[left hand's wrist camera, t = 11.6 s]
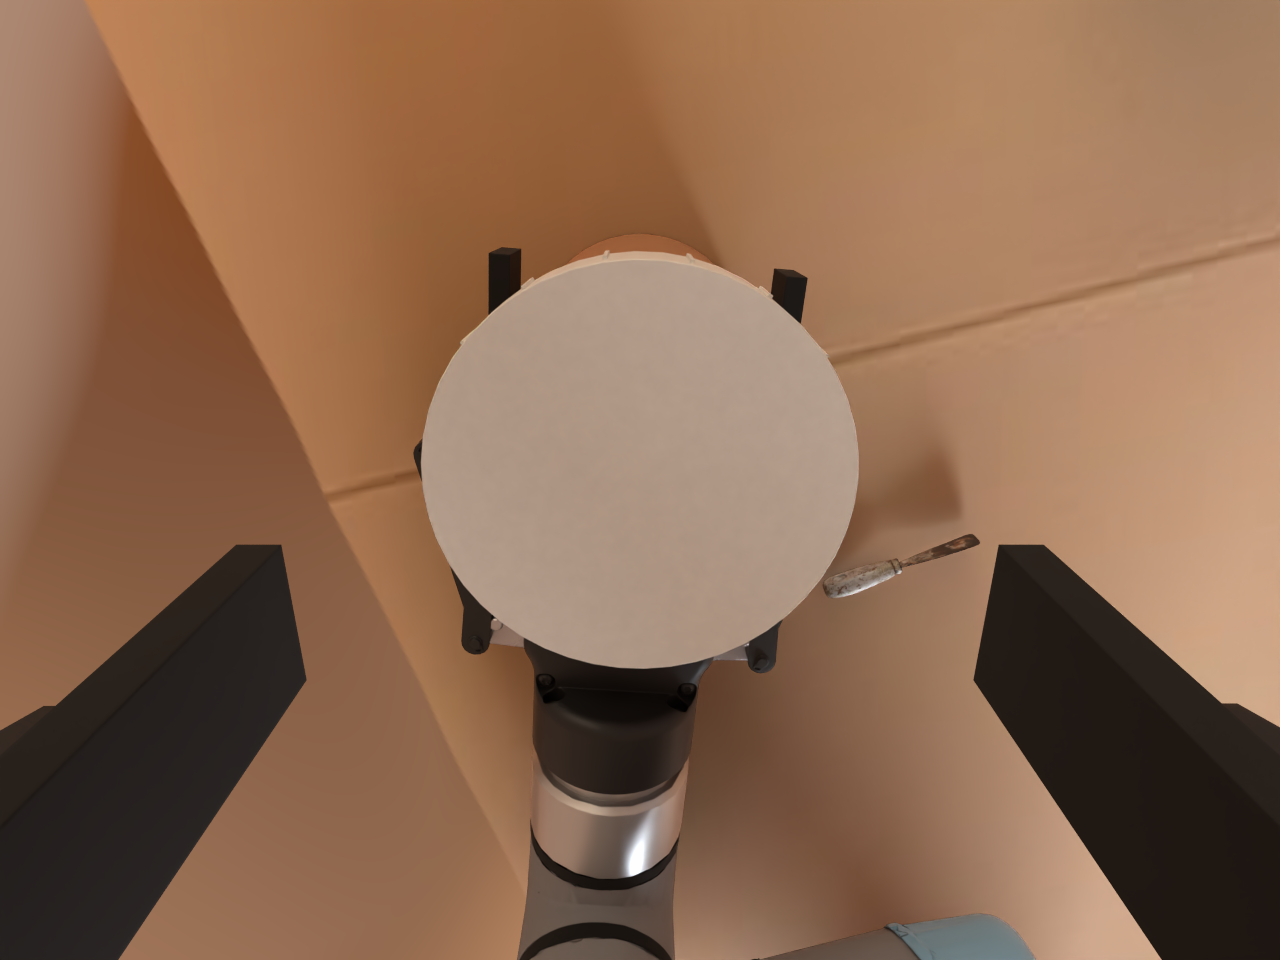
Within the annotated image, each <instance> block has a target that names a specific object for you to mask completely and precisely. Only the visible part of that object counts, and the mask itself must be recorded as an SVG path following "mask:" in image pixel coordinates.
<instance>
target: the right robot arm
mask: <svg viewBox="0 0 1280 960" xmlns="http://www.w3.org/2000/svg"><path fill="white" fill-rule="evenodd" d="M806 285H807V277H805V276H803V275H801V274H799V273H798V272H796V271H794V270H785V269H774V275H773V282H772V290H771V294H772V295H773V297H772V299H773V300H774V301H775V302H776V303H777V304H779V305H780V306H781V307H782V308H783V309H784V310H785V311H786V312H788V313H789V314H790V315H791V316H792V317H793V318H794V319H795V320H796V321H798V322H799V323H800V324H801V318H802V312H803V305H804V298H805V292H806ZM520 286H521V249H516V248H503V247H501V248H499V249H497V250H495V251H493V252H490V253H489V315H490V314H491V313H492V312H493V311H494V310H495V309H496V308H497V307H499V306H500V305H501V304H502V303H503V302H504V301H506V300H507V299H508V298H510V297H511V296H512V295H514V294H515V293H516V292H518V291H519V290H520ZM422 441H423V438H422V440H421V441H420V442H419V443H418V445H417V446H416V447H415V449H414V459H415V462H416V465H417V468H418V471H419V474H420V477H421V480H422V472H421V454H422ZM450 567H451V566H450ZM451 570H452V573H453V576H454V579H455V582H456V585H457V588H458V591H459V594H460V598H461V601H462V604H463V607H464V613H463V627H462V646H463V648H464V649H465V650H466V651H467V652H469V653H471V654H481V653H484V652H485V651H486V650H487V649H488V647H489V644H490V643H491V644H499V645H507V646H516V647H524V649H525V652H526V654H527V655H528V657H529V658H530V660H531V662H532V664H533V667H534V706H533V744H534V749H533V753H532V767H531V820H530V825H531V844H530V859H529V874H528V889H527V899H526V907H525V914H524V920H523V926H522V933H521V939H520V945H519V951H518V957H517V960H675V951H674V928H673V893H674V880H675V868H676V857H677V846H678V842H679V835H680V829H681V825H682V818H683V810H684V802H685V794H686V785H687V777H688V766H689V759H688V756H689V754H690V750H691V743H692V735H693V727H694V719H695V711H696V703H697V695H698V687H699V682H700V679H701V677H702V675H703V673H704V672H705V670H706V669H707V668H708V667H709V666H710V664H711V663H712V661H713V660H748V665H749V667H750V668H751V670H753V671H754V672H757V673H765V672H768V671H770V670H771V669H772V668H773V667H774V665H775V662H776V650H777V638H778V628H779V626H780V624H781V622H782V620H783V619H782V620H781V621H779V622H778V623H777V624H775V625H774V626H773V627H771V628H770V629H769V630H767V631H766V632H764V633H762V634H761V635H759V636H757V637H755V638H754V639H752V640H750V641H749V642H747V643H745V644H743V645H741V646H738V647H736V648H734V649H732V650H729V651H727V652H725V653H722V654H720V655H717V656H713V657H710V658H707V659H704V660H700V661H697V662H693V663H687V664H682V665H677V666H672V667H660V668H647V669H640V668H617V667H610V666H604V665H597V664H591V663H588V662H584V661H580V660H576V659H572V658H569V657H566V656H563V655H561V654H558V653H556V652H553V651H550V650H548V649H545V648H543V647H541V646H539V645H537V644H536V643H534V642H532V641H530V640H528V639H526V638H524V637H522V636H521V635H519V634H518V633H516V632H515V631H513V630H512V629H510V628H509V627H507V626H506V625H505V624H503V623H502V622H500V621H499V620H498V619H497V618H496V617H494V616H493V615H492V614H491V613H490V612H489V611H488V610H486V609H485V608H484V607H483V606H482V605H481V604H480V603H479V602H478V601H477V600H476V599H475V597H474V596H473V595H472V594H471V593H470V592H469V591H468V590H467V588H466V587H465V586H464V585H463V584H462V582H461V581H460V579H459V578H458V576H457V575H456V573H455V572H454V571H453V569H452V568H451ZM752 960H1036V959H1035V957H1034V956H1033V954H1032V952H1031V951H1030V949H1029V947H1028V946H1027V944H1026V943H1025V942H1024V940H1023V939H1022V938H1021V936H1020V935H1019V934H1018V933H1017V932H1016V931H1015V930H1014V929H1013V928H1012V927H1011V926H1010V925H1009V924H1007V923H1006V922H1004V921H1003V920H1001V919H999V918H997V917H995V916H992V915H988V914H971V915H964V916H958V917H951V918H945V919H938V920H932V921H925V922H919V923H913V924H906V925H901V924H898V923H891V924H888V925H886V926H885V927H884V928H883V929H879V930H875V931H871V932H867V933H863V934H859V935H856V936H852V937H848V938H844V939H840V940H836V941H832V942H828V943H824V944H820V945H816V946H812V947H808V948H804V949H800V950H796V951H792V952H788V953H784V954H780V955H776V956H772V957H768V958H764V959H759V958H758V959H752Z"/></svg>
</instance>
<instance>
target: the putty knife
mask: <svg viewBox="0 0 1280 960" xmlns="http://www.w3.org/2000/svg"><path fill="white" fill-rule="evenodd" d="M979 544H980V542H979V540H978V539H977V538H976V537H975V536H974V535H973V534H968V535H965V536H962V537H960V538H957V539H955V540H952V541H950V542H947V543H945V544H942V545H940V546H937V547H934V548H932V549H929V550H927V551H924V552H922V553H919V554H917V555H915V556H913V557H910V558H908V559H906V560H903V561H901V562H899V561H898V559H893V560H887V561H882V562H878V563H873V564H869V565H865V566H861V567H858V568H855V569H851V570H849V571H846V572H843V573H840V574H837V575H834V576H831V577H829V578H827V579H826V580H825V581H824V582H823V589H824V592H825V594H826V595H827V596H828V597H829V598H839V597H844V596H848V595H851V594H854V593H857V592H859V591H862V590H865V589H867V588H870V587H872V586H875V585H877V584H879V583H882V582H884V581H886V580H888V579H890V578H892V577H894V576H895V575H897V574H900V573H902V567H906V566H910V565H914V564H918V563H922V562H925V561H929V560H933V559H936V558H940V557H943V556H946V555H949V554H953V553H956V552H959V551H962V550H965V549H967V548H971V547H974V546H976V545H979Z"/></svg>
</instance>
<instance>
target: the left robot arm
mask: <svg viewBox="0 0 1280 960" xmlns="http://www.w3.org/2000/svg"><path fill="white" fill-rule="evenodd" d="M305 682H306V675H305V669H304V664H303V659H302V653H301V648H300V643H299V637H298V632H297V627H296V622H295V616H294V611H293V605H292V600H291V595H290V589H289V584H288V579H287V573H286V568H285V563H284V557H283V552H282V547H281V545H236V546H234V547H233V548H232V549H231V550H230V551H229V552H228V553H227V554H225V555H224V556H223V557H222V558H221V559H220V560H219V561H218V562H216V563H215V564H214V565H213V566H212V567H211V568H210V569H209V570H207V571H206V572H205V573H204V574H203V575H202V576H201V577H200V578H199V579H197V580H196V581H195V582H194V583H193V584H192V585H191V586H190V587H188V588H187V589H186V590H185V591H184V592H183V593H182V594H181V595H180V596H178V597H177V598H176V599H175V600H174V601H173V602H172V603H170V604H169V605H168V606H167V607H166V608H165V609H164V610H163V611H162V612H160V613H159V614H158V615H157V616H156V617H155V618H154V619H153V620H151V621H150V622H149V623H148V624H147V625H146V626H145V627H144V628H142V629H141V630H140V631H139V632H138V633H137V634H136V635H135V636H134V637H132V638H131V639H130V640H129V641H128V642H127V643H126V644H125V645H123V646H122V647H121V648H120V649H119V650H118V651H117V652H116V653H114V654H113V655H112V656H111V657H110V658H109V659H108V660H107V661H105V662H104V663H103V664H102V665H101V666H100V667H99V668H98V669H96V670H95V671H94V672H93V673H92V674H91V675H90V676H89V677H88V678H86V679H85V680H84V681H83V682H82V683H81V684H80V685H79V686H77V687H76V688H75V689H74V690H73V691H72V692H71V693H70V694H68V695H67V696H66V697H65V698H64V699H63V700H62V701H61V702H60V703H58V704H57V705H56V706H43V707H41V708H40V709H38V710H36V711H34V712H32V713H31V714H29V715H27V716H25V717H24V718H22V719H20V720H18V721H17V722H15V723H13V724H11V725H9V726H8V727H6V728H4V729H2V730H0V960H118V959H119V958H120V956H121V955H122V953H123V952H124V950H125V949H126V947H127V946H128V944H129V943H130V941H131V940H132V938H133V937H134V935H135V934H136V933H137V931H138V930H139V928H140V927H141V925H142V924H143V922H144V921H145V919H146V918H147V916H148V915H149V913H150V912H151V910H152V909H153V907H154V906H155V904H156V903H157V901H158V900H159V898H160V897H161V895H162V894H163V892H164V891H165V889H166V888H167V887H168V885H169V884H170V882H171V881H172V879H173V878H174V876H175V875H176V873H177V872H178V870H179V869H180V867H181V866H182V864H183V863H184V861H185V860H186V858H187V857H188V855H189V854H190V852H191V851H192V849H193V848H194V846H195V845H196V843H197V842H198V840H199V839H200V837H201V836H202V835H203V833H204V832H205V830H206V829H207V827H208V825H209V824H210V823H211V821H212V820H213V818H214V817H215V815H216V814H217V812H218V811H219V809H220V808H221V806H222V805H223V803H224V802H225V800H226V799H227V797H228V796H229V794H230V793H231V791H232V790H233V788H234V787H235V786H236V784H237V783H238V781H239V780H240V778H241V777H242V775H243V774H244V772H245V771H246V769H247V768H248V766H249V765H250V763H251V762H252V760H253V759H254V757H255V756H256V754H257V753H258V751H259V750H260V748H261V747H262V745H263V744H264V742H265V741H266V739H267V738H268V737H269V735H270V734H271V732H272V730H273V729H274V728H275V726H276V725H277V723H278V722H279V720H280V719H281V717H282V716H283V714H284V713H285V711H286V710H287V708H288V707H289V705H290V704H291V702H292V701H293V699H294V698H295V696H296V695H297V693H298V692H299V690H300V689H301V688H302V686H303V684H304V683H305ZM974 682H975V683H976V685H977V686H978V688H979V689H980V690H981V692H982V693H983V695H984V696H985V698H986V699H987V701H988V702H989V704H990V705H991V707H992V708H993V710H994V711H995V713H996V714H997V716H998V717H999V719H1000V720H1001V722H1002V723H1003V725H1004V726H1005V728H1006V729H1007V731H1008V732H1009V734H1010V735H1011V737H1012V738H1013V739H1014V741H1015V742H1016V744H1017V745H1018V747H1019V748H1020V750H1021V751H1022V753H1023V754H1024V756H1025V757H1026V759H1027V760H1028V762H1029V763H1030V765H1031V766H1032V768H1033V769H1034V771H1035V772H1036V774H1037V775H1038V777H1039V778H1040V780H1041V781H1042V783H1043V784H1044V786H1045V787H1046V788H1047V790H1048V791H1049V793H1050V794H1051V796H1052V797H1053V799H1054V800H1055V802H1056V803H1057V805H1058V806H1059V808H1060V809H1061V811H1062V812H1063V814H1064V815H1065V817H1066V818H1067V820H1068V821H1069V823H1070V824H1071V826H1072V827H1073V829H1074V830H1075V832H1076V833H1077V835H1078V836H1079V838H1080V839H1081V840H1082V842H1083V843H1084V845H1085V846H1086V848H1087V849H1088V851H1089V852H1090V854H1091V855H1092V857H1093V858H1094V860H1095V861H1096V863H1097V864H1098V866H1099V867H1100V869H1101V870H1102V872H1103V873H1104V875H1105V876H1106V878H1107V879H1108V881H1109V882H1110V884H1111V885H1112V887H1113V888H1114V889H1115V891H1116V892H1117V894H1118V895H1119V897H1120V898H1121V900H1122V901H1123V903H1124V904H1125V906H1126V907H1127V909H1128V910H1129V912H1130V913H1131V915H1132V916H1133V918H1134V919H1135V921H1136V922H1137V924H1138V925H1139V927H1140V928H1141V930H1142V931H1143V933H1144V934H1145V936H1146V937H1147V938H1148V940H1149V941H1150V943H1151V944H1152V946H1153V947H1154V949H1155V950H1156V952H1157V953H1158V955H1159V956H1160V958H1161V959H1162V960H1280V727H1278V726H1276V725H1274V724H1273V723H1271V722H1269V721H1267V720H1266V719H1264V718H1262V717H1260V716H1258V715H1257V714H1255V713H1253V712H1251V711H1250V710H1248V709H1246V708H1244V707H1242V706H1241V705H1239V704H1222V703H1221V702H1219V701H1218V700H1217V699H1216V698H1215V697H1214V696H1213V695H1212V694H1210V693H1209V692H1208V691H1207V690H1206V689H1205V688H1204V687H1203V686H1201V685H1200V684H1199V683H1198V682H1197V681H1196V680H1195V679H1194V678H1192V677H1191V676H1190V675H1189V674H1188V673H1187V672H1186V671H1185V670H1184V669H1182V668H1181V667H1180V666H1179V665H1178V664H1177V663H1176V662H1175V661H1173V660H1172V659H1171V658H1170V657H1169V656H1168V655H1167V654H1166V653H1164V652H1163V651H1162V650H1161V649H1160V648H1159V647H1158V646H1157V645H1155V644H1154V643H1153V642H1152V641H1151V640H1150V639H1149V638H1148V637H1147V636H1145V635H1144V634H1143V633H1142V632H1141V631H1140V630H1139V629H1138V628H1136V627H1135V626H1134V625H1133V624H1132V623H1131V622H1130V621H1129V620H1127V619H1126V618H1125V617H1124V616H1123V615H1122V614H1121V613H1120V612H1118V611H1117V610H1116V609H1115V608H1114V607H1113V606H1112V605H1111V604H1110V603H1108V602H1107V601H1106V600H1105V599H1104V598H1103V597H1102V596H1101V595H1099V594H1098V593H1097V592H1096V591H1095V590H1094V589H1093V588H1092V587H1090V586H1089V585H1088V584H1087V583H1086V582H1085V581H1084V580H1083V579H1081V578H1080V577H1079V576H1078V575H1077V574H1076V573H1075V572H1074V571H1073V570H1071V569H1070V568H1069V567H1068V566H1067V565H1066V564H1065V563H1064V562H1062V561H1061V560H1060V559H1059V558H1058V557H1057V556H1056V555H1055V554H1053V553H1052V552H1051V551H1050V550H1049V549H1048V548H1047V547H1046V546H1044V545H999V547H998V552H997V557H996V563H995V568H994V573H993V579H992V584H991V589H990V595H989V600H988V605H987V611H986V616H985V621H984V627H983V632H982V637H981V643H980V648H979V653H978V659H977V664H976V669H975V675H974Z"/></svg>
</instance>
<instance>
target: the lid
mask: <svg viewBox="0 0 1280 960" xmlns="http://www.w3.org/2000/svg"><path fill="white" fill-rule="evenodd" d="M521 288H522V289H520V290H519V291H518V292H516V293H515V294H514V295H512V296H511V297H510V298H508V299H507V300H506V301H504V302H503V303H502V304H501V305H500V306H499V307H497V308H496V309H495V310H494V311H493V312H492V313H491V314H490V315H489V316H488V317H487V318H486V319H485V320H484V321H483V322H482V323H481V324H480V325H479V326H478V327H477V328H476V329H474V330H473V331H472V332H471V333H469V334H468V335H467V336H466V337H465V338H464V339H462V340H461V342H460V344H461V347H460V348H459V349H458V351H457V352H456V353H455V355H454V356H453V357H452V359H451V361H450V363H449V365H448V366H447V368H446V370H445V372H444V374H443V375H442V377H441V379H440V381H439V383H438V386H437V388H436V391H435V394H434V396H433V399H432V402H431V404H430V407H429V410H428V413H427V419H426V424H425V428H424V433H423V441H422V454H421V472H422V487H423V494H424V498H425V503H426V508H427V513H428V517H429V520H430V522H431V525H432V528H433V531H434V534H435V536H436V539H437V542H438V544H439V546H440V547H441V549H442V551H443V553H444V555H445V557H446V559H447V561H448V563H449V565H450V566H451V568H452V569H453V571H454V572H455V573H456V575H457V576H458V578H459V579H460V581H461V582H462V584H463V585H464V586H465V587H466V588H467V590H468V591H469V592H470V593H471V594H472V595H473V596H474V597H475V599H476V600H477V601H478V602H479V603H480V604H481V605H482V606H483V607H484V608H485V609H486V610H488V611H489V612H490V613H491V614H492V615H493V616H494V617H496V618H497V619H498V620H499V621H500V622H502V623H503V624H505V625H506V626H507V627H509V628H510V629H512V630H513V631H515V632H516V633H518V634H519V635H521V636H522V637H524V638H526V639H528V640H530V641H532V642H534V643H536V644H537V645H539V646H541V647H543V648H545V649H548V650H550V651H553V652H556V653H558V654H561V655H563V656H566V657H569V658H572V659H576V660H580V661H584V662H588V663H591V664H597V665H604V666H610V667H617V668H640V669H647V668H660V667H672V666H677V665H682V664H687V663H693V662H697V661H700V660H704V659H707V658H710V657H713V656H717V655H720V654H722V653H725V652H727V651H729V650H732V649H734V648H736V647H738V646H741V645H743V644H745V643H747V642H749V641H750V640H752V639H754V638H755V637H757V636H759V635H761V634H762V633H764V632H766V631H767V630H769V629H770V628H771V627H773V626H774V625H775V624H777V623H778V622H779V621H781V620H782V619H783V618H784V617H786V616H787V615H788V614H789V613H790V612H791V611H792V610H793V609H794V608H796V607H797V606H798V605H799V604H800V603H801V602H802V601H803V600H804V599H805V598H806V597H807V596H808V594H809V593H810V592H811V591H812V589H813V588H814V587H815V586H816V584H817V583H818V582H819V581H820V579H821V578H822V577H823V575H824V574H825V572H826V570H827V569H828V567H829V566H830V564H831V562H832V561H833V559H834V558H835V556H836V554H837V552H838V550H839V547H840V545H841V543H842V541H843V538H844V536H845V534H846V532H847V529H848V525H849V522H850V519H851V515H852V512H853V509H854V505H855V498H856V492H857V485H858V472H859V450H858V443H857V435H856V427H855V423H854V419H853V415H852V412H851V408H850V405H849V401H848V398H847V396H846V393H845V391H844V389H843V386H842V384H841V382H840V380H839V377H838V375H837V373H836V371H835V370H834V368H833V366H832V365H831V363H830V362H829V360H828V357H829V355H828V354H827V353H826V352H825V351H824V350H823V349H822V348H821V347H820V346H819V345H818V344H817V343H816V341H815V340H814V339H813V338H812V337H811V335H810V334H809V333H808V332H807V331H806V330H805V328H804V327H803V326H802V325H801V324H800V323H799V322H798V321H796V320H795V319H794V318H793V317H792V316H791V315H790V314H789V313H788V312H786V311H785V310H784V309H783V308H782V307H781V306H780V305H779V304H777V303H776V302H775V301H774V300H773V299H772V297H773V295H772V294H770V293H769V292H768V291H767V290H766V289H764V288H763V287H762V286H760V287H759V288H757V287H755V286H754V285H752V284H751V283H749V282H748V281H746V280H745V279H743V278H741V277H739V276H737V275H735V274H733V273H731V272H729V271H727V270H725V269H723V268H721V267H719V266H716V265H713V264H710V263H707V262H704V261H701V260H698V259H694V258H693V256H692V255H691V254H688V253H687V254H686V256H680V255H675V254H669V253H664V252H643V251H631V252H620V253H610V251H609V250H607V251H605V252H604V254H603V255H599V256H595V257H590V258H586V259H582V260H578V261H575V262H573V263H570V264H568V265H565V266H562V267H560V268H557V269H555V270H552V271H550V272H548V273H547V274H545V275H543V276H541V277H539V278H538V279H536V280H535V279H534V278H533V277H532V278H530V279H529V280H528V281H527V282H525V283H524V284H523V285H522V286H521Z"/></svg>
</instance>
